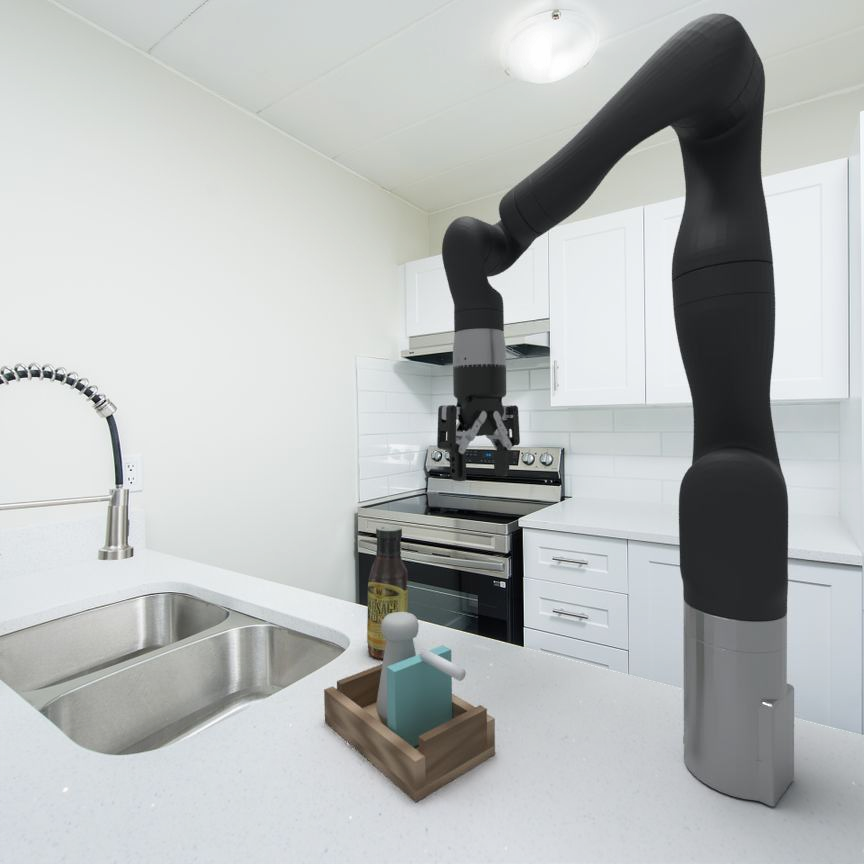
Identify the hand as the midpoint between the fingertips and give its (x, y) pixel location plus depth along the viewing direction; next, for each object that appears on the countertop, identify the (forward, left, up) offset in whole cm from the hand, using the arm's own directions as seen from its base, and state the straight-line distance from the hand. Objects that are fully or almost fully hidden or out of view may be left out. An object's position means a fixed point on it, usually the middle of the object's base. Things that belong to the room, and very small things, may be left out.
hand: (481, 478), depth 76 cm
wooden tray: (-5, +18, -28) cm, 34 cm away
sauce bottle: (+14, +7, -28) cm, 32 cm away
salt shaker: (-4, +18, -27) cm, 33 cm away
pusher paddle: (-11, +18, -27) cm, 34 cm away
